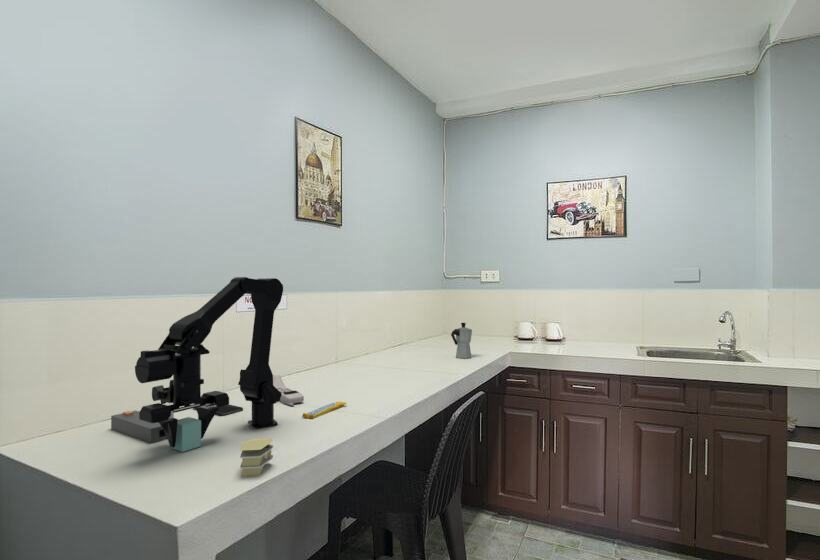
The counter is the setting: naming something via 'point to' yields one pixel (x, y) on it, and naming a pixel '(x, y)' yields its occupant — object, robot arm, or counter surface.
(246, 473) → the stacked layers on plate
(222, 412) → the phone
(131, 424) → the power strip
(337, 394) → the counter surface
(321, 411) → the candy bar
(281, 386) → the mobile phone
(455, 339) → the coffee maker
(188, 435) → the block
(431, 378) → the counter surface
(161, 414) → the robot arm
